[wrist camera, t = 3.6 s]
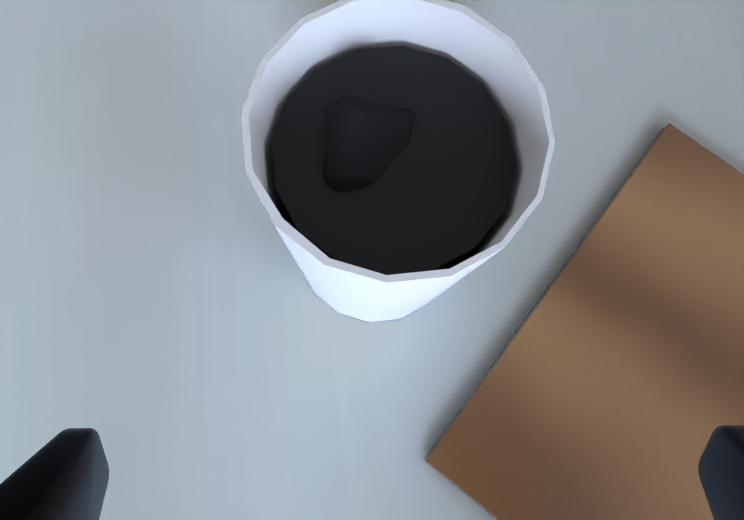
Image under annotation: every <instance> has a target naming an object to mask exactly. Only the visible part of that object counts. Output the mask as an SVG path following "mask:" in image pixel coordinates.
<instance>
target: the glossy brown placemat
mask: <svg viewBox="0 0 744 520" xmlns="http://www.w3.org/2000/svg"><path fill="white" fill-rule="evenodd" d="M721 425H744V175H743V174H742V173H740V172H739V171H737V170H736V169H735V168H733V167H732V166H730V165H729V164H727V163H726V162H724V161H723V160H722V159H720V158H719V157H717V156H716V155H714V154H713V153H712V152H710V151H709V150H707V149H706V148H704V147H703V146H701V145H700V144H699V143H697V142H696V141H694V140H693V139H691V138H690V137H689V136H687V135H686V134H684V133H683V132H681V131H680V130H678V129H677V128H676V127H674V126H673V125H671V124H670V123H669V124H667V125H666V126H665V127H664V128H663V130H662V131H661V132H660V134H659V135H658V137H657V138H656V139H655V141H654V142H653V143H652V145H651V146H650V148H649V149H648V150H647V152H646V153H645V155H644V156H643V157H642V159H641V160H640V162H639V163H638V164H637V166H636V167H635V168H634V170H633V171H632V173H631V174H630V175H629V177H628V178H627V180H626V181H625V182H624V184H623V185H622V186H621V188H620V189H619V191H618V192H617V193H616V195H615V196H614V198H613V199H612V200H611V202H610V203H609V204H608V206H607V207H606V209H605V210H604V211H603V213H602V214H601V216H600V217H599V218H598V220H597V221H596V222H595V224H594V225H593V227H592V228H591V229H590V231H589V232H588V234H587V235H586V236H585V238H584V239H583V241H582V242H581V243H580V245H579V246H578V247H577V249H576V250H575V252H574V253H573V254H572V256H571V257H570V259H569V260H568V261H567V263H566V264H565V265H564V267H563V268H562V270H561V271H560V272H559V274H558V275H557V277H556V278H555V279H554V281H553V282H552V283H551V285H550V286H549V288H548V289H547V290H546V292H545V293H544V295H543V296H542V297H541V299H540V300H539V301H538V303H537V304H536V306H535V307H534V308H533V310H532V311H531V313H530V314H529V315H528V317H527V318H526V320H525V321H524V322H523V324H522V325H521V326H520V328H519V329H518V331H517V332H516V333H515V335H514V336H513V338H512V339H511V340H510V342H509V343H508V344H507V346H506V347H505V349H504V350H503V351H502V353H501V354H500V356H499V357H498V358H497V360H496V361H495V362H494V364H493V365H492V367H491V368H490V369H489V371H488V372H487V374H486V375H485V376H484V378H483V379H482V380H481V382H480V383H479V385H478V386H477V387H476V389H475V390H474V392H473V393H472V394H471V396H470V397H469V399H468V400H467V401H466V403H465V404H464V405H463V407H462V408H461V410H460V411H459V412H458V414H457V415H456V417H455V418H454V419H453V421H452V422H451V423H450V425H449V426H448V428H447V429H446V430H445V432H444V433H443V435H442V436H441V437H440V439H439V440H438V441H437V443H436V444H435V446H434V447H433V448H432V450H431V451H430V453H429V454H428V455H427V457H426V458H425V461H426V462H427V463H429V464H430V465H431V466H432V467H434V468H435V469H436V470H437V471H439V472H440V473H441V474H442V475H444V476H445V477H446V478H447V479H449V480H450V481H451V482H452V483H453V484H455V485H456V486H457V487H458V488H460V489H461V490H462V491H463V492H465V493H466V494H467V495H468V496H470V497H471V498H472V499H473V500H475V501H476V502H477V503H478V504H480V505H481V506H482V507H483V508H484V509H486V510H487V511H488V512H489V513H491V514H492V515H493V516H494V517H496V518H497V519H498V520H714V518H713V516H712V513H711V510H710V507H709V504H708V501H707V498H706V495H705V493H704V490H703V487H702V484H701V481H700V478H699V473H698V464H699V460H700V458H701V455H702V453H703V451H704V449H705V447H706V445H707V443H708V441H709V439H710V437H711V435H712V432H713V431H714V429H715V428H717V427H718V426H721Z"/></svg>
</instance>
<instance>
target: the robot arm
mask: <svg viewBox="0 0 744 520" xmlns="http://www.w3.org/2000/svg"><path fill="white" fill-rule="evenodd" d="M698 473H699V478H700V481H701V484H702V487H703V490H704V493H705V495H706V498H707V501H708V504H709V507H710V510H711V513H712V516H713V518H714V520H744V425H721V426H718V427H717V428H715V429H714V431H713V432H712V435H711V437H710V439H709V441H708V443H707V445H706V447H705V449H704V451H703V453H702V455H701V458H700V460H699V464H698ZM108 479H109V467H108V463H107V459H106V456H105V453H104V450H103V447H102V443H101V440H100V437H99V434H98V432H97V431H96V430H94V429H91V428H70V429H65V430H63V431H62V432H60V433H59V434H58V435H57V436H55V437H54V438H53V439H52V440H51V441H50V442H48V443H47V444H46V445H45V446H44V447H43V448H41V449H40V450H39V451H38V452H37V453H36V454H35V455H33V456H32V457H31V458H30V459H29V460H28V461H26V462H25V463H24V464H23V465H22V466H21V467H19V468H18V469H17V470H16V471H15V472H14V473H13V474H11V475H10V476H9V477H8V478H7V479H6V480H4V481H3V482H2V483H1V484H0V520H99V517H100V513H101V509H102V505H103V501H104V497H105V493H106V489H107V485H108Z"/></svg>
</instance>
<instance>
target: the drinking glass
mask: <svg viewBox="0 0 744 520" xmlns="http://www.w3.org/2000/svg"><path fill="white" fill-rule="evenodd" d="M241 119H242V133H243V148H244V162H245V172H246V173H247V175H248V177H249V179H250V181H251V183H252V185H253V186H254V188H255V190H256V192H257V194H258V196H259V198H260V200H261V201H262V203H263V205H264V207H265V209H266V211H267V213H268V214H269V216H270V218H271V220H272V222H273V224H274V226H275V227H276V229H277V231H278V232H279V234H280V236H281V237H282V239H283V240H284V242H285V244H286V245H287V247H288V249H289V250H290V252H291V254H292V255H293V257H294V259H295V260H296V262H297V264H298V265H299V267H300V269H301V270H302V272H303V274H304V275H305V277H306V279H307V280H308V282H309V284H310V285H311V287H312V289H313V290H314V292H315V294H316V295H317V296H319V297H320V298H321V299H322V300H324V301H325V302H326V303H327V304H328V305H330V306H331V307H332V308H333V309H335V310H336V311H337V312H338V313H340V314H343V315H347V316H350V317H354V318H357V319H360V320H364V321H367V322H376V321H385V320H394V319H401V318H403V317H405V316H406V315H408V314H410V313H412V312H414V311H416V310H417V309H419V308H421V307H423V306H425V305H426V304H428V303H429V302H430V301H432V300H433V299H434V298H436V297H437V296H439V295H440V294H441V293H443V292H444V291H445V290H447V289H448V288H450V287H451V286H452V285H454V284H455V283H456V282H458V281H459V280H461V279H462V278H463V277H465V276H466V275H467V274H469V273H470V272H471V271H473V270H474V269H476V268H477V267H478V266H480V265H481V264H482V263H484V262H485V261H487V260H488V259H489V258H491V257H492V256H493V255H495V254H496V253H498V252H499V251H500V250H502V249H503V248H504V247H506V246H507V244H508V243H509V242H510V241H511V239H512V238H513V237H514V235H515V234H516V233H517V231H518V230H519V229H520V228H521V226H522V225H523V224H524V222H525V221H526V220H527V218H528V217H529V216H530V215H531V213H532V212H533V211H534V209H535V208H536V207H537V205H538V204H539V203H540V202H541V200H542V198H543V194H544V190H545V186H546V181H547V177H548V173H549V169H550V164H551V160H552V156H553V151H554V147H555V138H554V133H553V128H552V123H551V117H550V112H549V107H548V102H547V96H546V91H545V87H544V86H543V84H542V83H541V81H540V79H539V78H538V76H537V75H536V73H535V72H534V70H533V69H532V67H531V66H530V64H529V63H528V61H527V60H526V58H525V57H524V55H523V54H522V52H521V51H520V49H519V48H518V46H517V45H516V43H515V42H514V40H513V39H511V38H510V37H509V36H507V35H506V34H504V33H503V32H502V31H500V30H499V29H497V28H496V27H495V26H493V25H492V24H490V23H489V22H488V21H486V20H485V19H483V18H482V17H481V16H479V15H478V14H476V13H475V12H474V11H472V10H471V9H470V8H468V7H467V6H464V5H460V4H457V3H453V2H449V1H446V0H339V1H337V2H335V3H333V4H331V5H328V6H326V7H324V8H322V9H320V10H317V11H315V12H313V13H311V14H309V15H306V16H304V17H302V18H300V19H299V20H298V21H297V22H296V23H295V24H294V25H293V26H292V27H291V28H290V29H289V30H288V31H287V33H286V34H285V35H284V36H283V37H282V38H281V39H280V40H279V41H278V42H277V43H276V44H275V45H274V46H273V47H272V48H271V49H270V50H269V51H268V52H267V53H266V54H265V56H264V57H263V58H262V59H261V60H260V63H259V66H258V68H257V71H256V74H255V76H254V79H253V82H252V85H251V87H250V90H249V93H248V95H247V98H246V101H245V103H244V106H243V109H242V111H241Z"/></svg>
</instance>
